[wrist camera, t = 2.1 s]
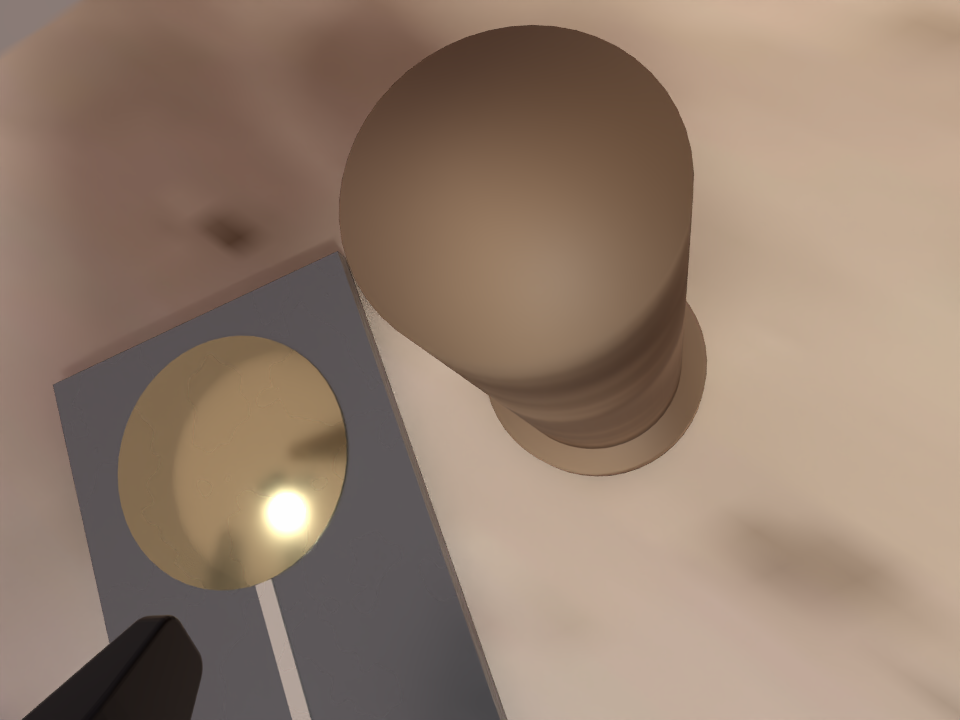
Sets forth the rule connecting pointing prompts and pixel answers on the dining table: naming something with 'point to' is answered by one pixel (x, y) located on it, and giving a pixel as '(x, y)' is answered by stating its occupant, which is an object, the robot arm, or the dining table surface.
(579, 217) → the walnut post
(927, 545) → the dining table surface
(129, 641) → the robot arm
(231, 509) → the gauge plate
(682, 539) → the dining table surface
